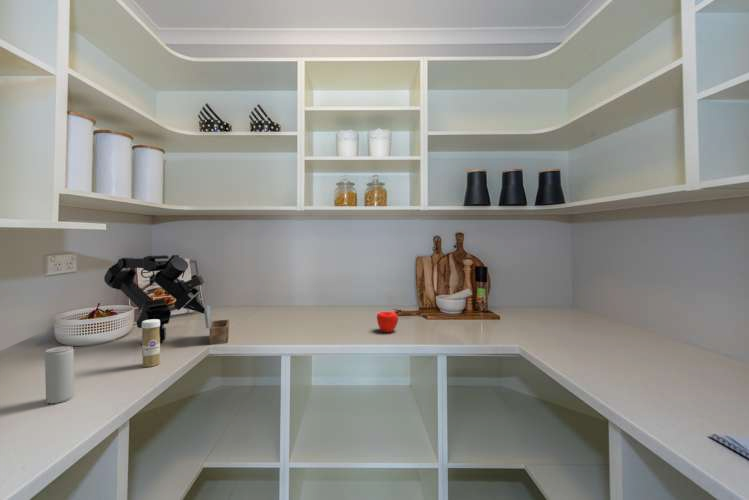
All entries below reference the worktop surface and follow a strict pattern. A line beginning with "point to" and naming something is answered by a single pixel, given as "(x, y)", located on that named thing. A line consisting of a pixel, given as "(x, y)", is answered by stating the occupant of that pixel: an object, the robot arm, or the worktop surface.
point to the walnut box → (219, 332)
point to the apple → (387, 321)
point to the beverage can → (59, 374)
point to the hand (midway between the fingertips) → (205, 312)
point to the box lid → (207, 316)
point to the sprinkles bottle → (150, 342)
